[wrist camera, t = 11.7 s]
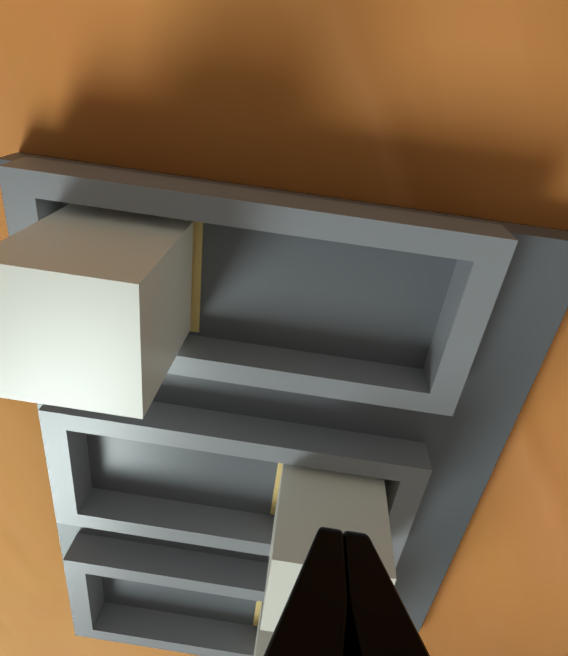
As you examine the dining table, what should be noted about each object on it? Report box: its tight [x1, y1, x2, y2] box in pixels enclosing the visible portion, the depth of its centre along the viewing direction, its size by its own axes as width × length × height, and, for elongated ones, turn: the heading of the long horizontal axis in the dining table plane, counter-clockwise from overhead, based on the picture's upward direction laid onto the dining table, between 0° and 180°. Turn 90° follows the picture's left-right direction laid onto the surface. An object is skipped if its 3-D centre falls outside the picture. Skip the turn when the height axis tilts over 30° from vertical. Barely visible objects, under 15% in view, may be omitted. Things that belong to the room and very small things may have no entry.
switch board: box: [0, 152, 568, 656], centre depth 21 cm, size 19×24×3 cm
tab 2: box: [260, 464, 397, 632], centre depth 19 cm, size 4×4×5 cm
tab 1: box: [0, 203, 193, 419], centre depth 14 cm, size 4×4×5 cm
